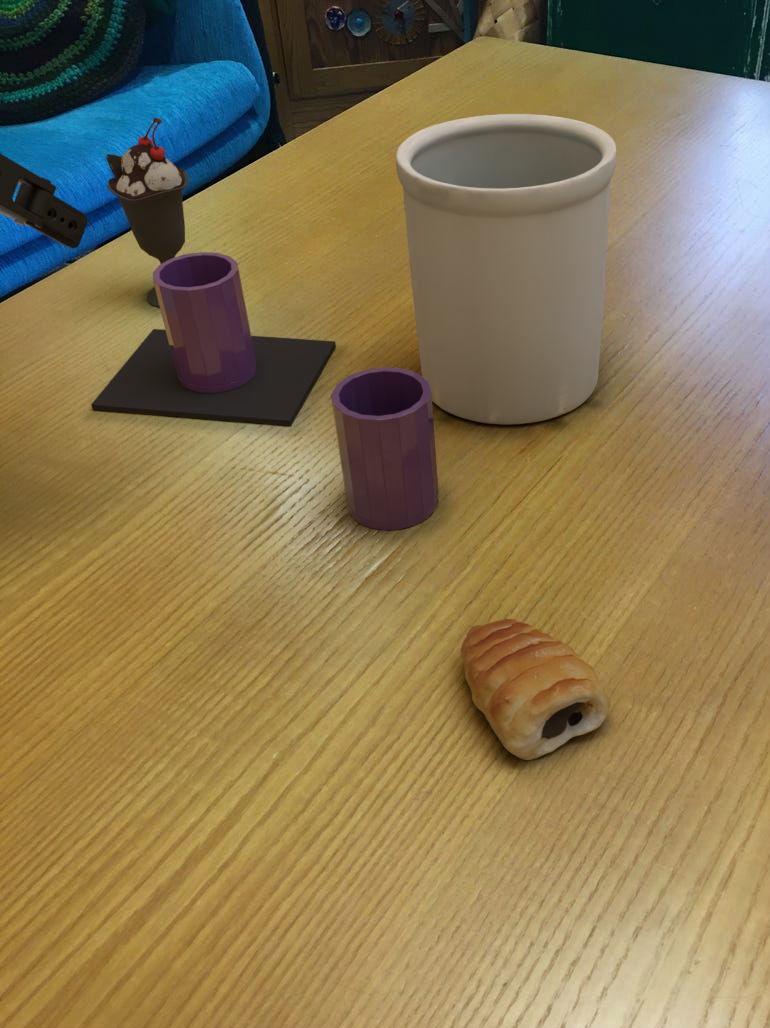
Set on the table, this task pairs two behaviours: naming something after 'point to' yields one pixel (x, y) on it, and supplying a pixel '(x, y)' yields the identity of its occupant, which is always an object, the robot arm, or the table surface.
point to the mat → (262, 400)
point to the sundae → (151, 198)
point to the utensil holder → (508, 261)
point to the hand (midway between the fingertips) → (34, 217)
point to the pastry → (531, 687)
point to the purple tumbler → (386, 447)
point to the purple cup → (206, 321)
